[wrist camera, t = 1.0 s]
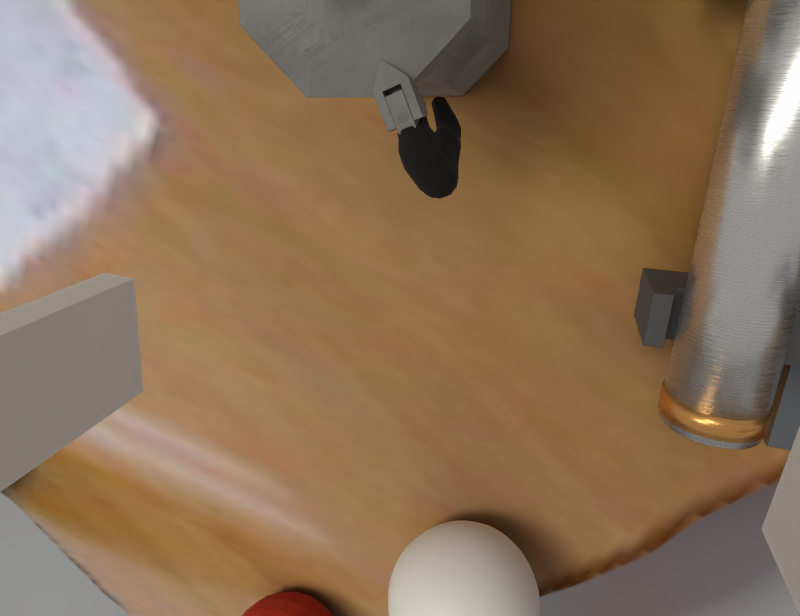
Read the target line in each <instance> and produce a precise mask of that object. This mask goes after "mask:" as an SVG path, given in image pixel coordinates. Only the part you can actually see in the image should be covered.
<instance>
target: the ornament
mask: <svg viewBox="0 0 800 616" xmlns="http://www.w3.org/2000/svg"><path fill="white" fill-rule="evenodd" d="M388 611H389V616H541V607H540V596H539V591H538V587H537V583H536V580H535V577H534V574H533V571H532V569H531V567H530V565H529V563H528V561H527V559H526V558H525V556H524V555H523V553H522V552H521V551H520V549H519V548H518V547H517V546H516V545H515V544H514V543H513V542H512V541H511V540H510V539H509V538H508V537H507V536H506V535H504V534H503V533H501V532H500V531H498V530H497V529H495V528H493V527H491V526H488V525H486V524H482V523H479V522H474V521H451V522H446V523H442V524H439V525H436V526H434V527H432V528H430V529H428V530H426V531H425V532H423V533H422V534H420V535H419V536H418V537H416V538H415V539H414V540H413V541H412V542H411V543H410V544H409V545H408V546H407V547H406V548H405V550H404V551H403V552H402V554H401V555H400V557H399V559H398V560H397V562H396V564H395V567H394V569H393V572H392V575H391V579H390V584H389V591H388Z"/></svg>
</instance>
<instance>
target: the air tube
mask: <svg viewBox="0 0 800 616" xmlns="http://www.w3.org/2000/svg"><path fill="white" fill-rule="evenodd" d="M799 310H800V0H748V4H747V8H746V13H745V17H744V22H743V27H742V31H741V36H740V40H739V45H738V49H737V54H736V59H735V63H734V68H733V72H732V77H731V82H730V86H729V91H728V95H727V100H726V105H725V109H724V114H723V118H722V123H721V128H720V132H719V137H718V141H717V146H716V150H715V155H714V160H713V164H712V169H711V173H710V178H709V183H708V187H707V192H706V196H705V201H704V206H703V210H702V215H701V219H700V224H699V228H698V233H697V238H696V242H695V247H694V251H693V256H692V261H691V265H690V270H689V274H688V279H687V284H686V288H685V293H684V297H683V302H682V306H681V311H680V316H679V320H678V325H677V329H676V334H675V339H674V343H673V348H672V352H671V357H670V362H669V366H668V371H667V375H666V379H665V380H664V382H663V384H662V389H661V393H660V398H659V403H658V408H659V416H660V418H661V419H662V421H663V422H664V423H665V424H666V425H667V426H668V427H669V428H671V429H672V430H674V431H675V432H677V433H679V434H680V435H682V436H684V437H687V438H689V439H691V440H694V441H696V442H699V443H703V444H706V445H710V446H714V447H719V448H727V449H745V448H751V447H753V446H756V445H758V444H759V443H760V442H761V440H762V438H763V437H764V436H765V434H766V432H767V428H768V425H769V422H770V418H771V415H772V403H773V399H774V396H775V392H776V389H777V386H778V382H779V379H780V375H781V372H782V368H783V365H784V361H785V358H786V355H787V351H788V348H789V344H790V341H791V337H792V334H793V330H794V327H795V324H796V320H797V317H798V313H799Z"/></svg>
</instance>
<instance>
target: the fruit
mask: <svg viewBox="0 0 800 616" xmlns="http://www.w3.org/2000/svg"><path fill="white" fill-rule="evenodd" d="M242 616H332V614H331V613H330V611H329V610H328V609H327V608H326V607H325V606H324V605H323V604H322V603H321V602H319V601H318V600H316V599H314V598H313V597H311V596H309V595H306V594H303V593H300V592H290V591H286V592H281V593H277V594H273V595H269V596H266V597H265V598H263V599H261V600H260V601H258V602H257V603H255V604H254V605H253V606H251V607H250V608H249V609H247V611H246V612H245V613H244V614H243V615H242Z"/></svg>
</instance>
